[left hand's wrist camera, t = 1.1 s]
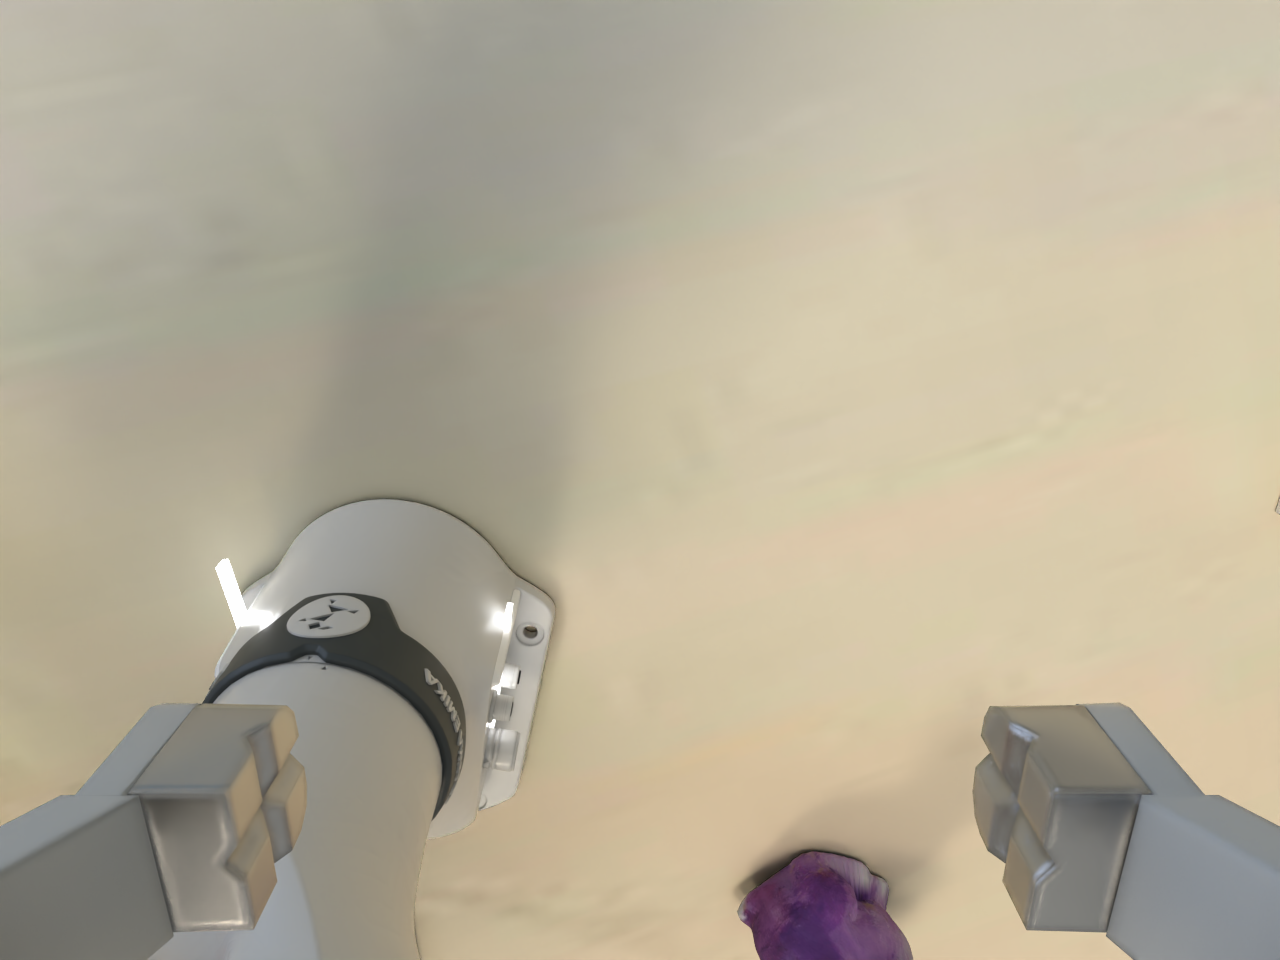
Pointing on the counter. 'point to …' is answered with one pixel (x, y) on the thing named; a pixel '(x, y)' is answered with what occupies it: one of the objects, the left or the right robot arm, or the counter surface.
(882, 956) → the figurine
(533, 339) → the counter surface
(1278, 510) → the bar
